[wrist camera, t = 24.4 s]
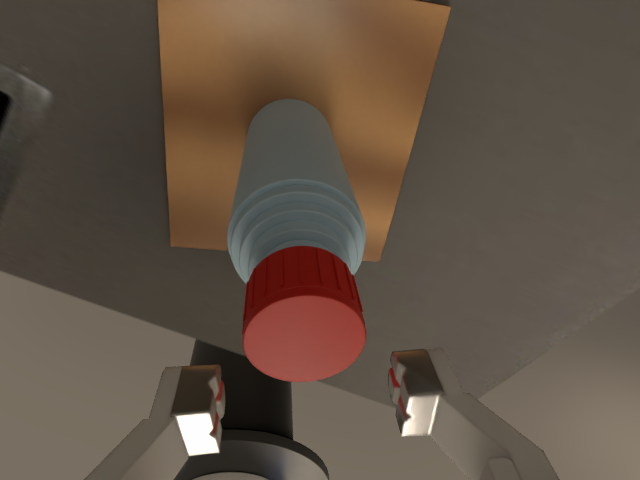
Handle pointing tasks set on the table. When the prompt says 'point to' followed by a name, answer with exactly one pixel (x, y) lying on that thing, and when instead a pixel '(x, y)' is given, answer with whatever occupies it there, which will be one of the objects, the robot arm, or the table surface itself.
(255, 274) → the cap
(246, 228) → the bottle
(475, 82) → the table surface
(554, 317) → the table surface
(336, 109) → the mat
